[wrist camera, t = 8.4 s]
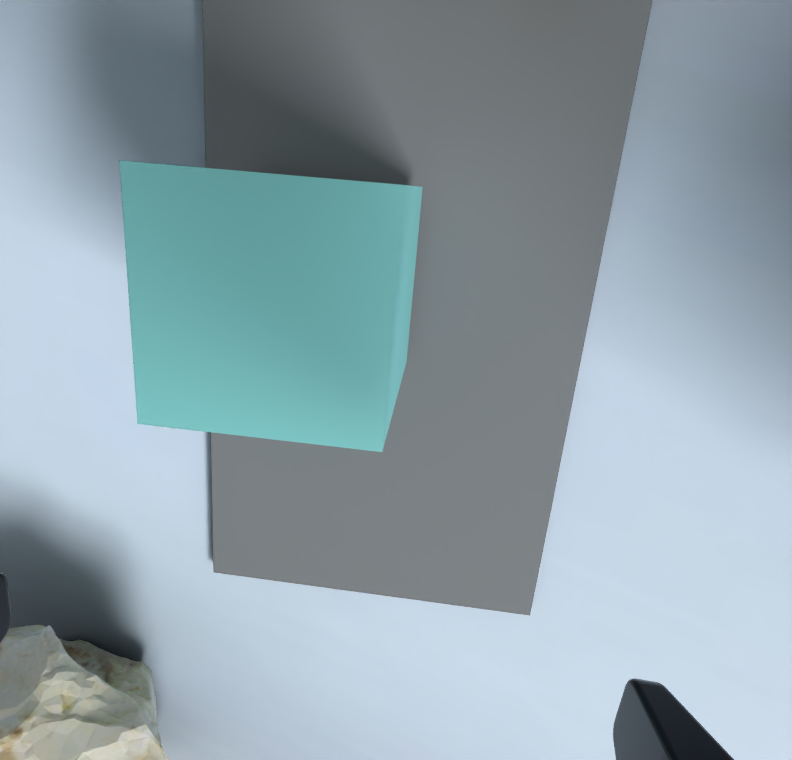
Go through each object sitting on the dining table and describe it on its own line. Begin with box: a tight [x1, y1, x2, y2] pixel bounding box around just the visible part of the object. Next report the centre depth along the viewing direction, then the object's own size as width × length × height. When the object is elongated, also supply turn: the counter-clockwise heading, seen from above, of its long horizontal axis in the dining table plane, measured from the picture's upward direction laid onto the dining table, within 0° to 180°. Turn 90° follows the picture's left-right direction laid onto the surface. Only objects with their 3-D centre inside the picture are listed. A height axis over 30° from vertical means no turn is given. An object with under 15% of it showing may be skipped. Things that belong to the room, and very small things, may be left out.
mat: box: [203, 0, 652, 615], centre depth 18 cm, size 12×25×1 cm, turn 175°
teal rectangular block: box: [119, 160, 423, 452], centre depth 14 cm, size 5×5×7 cm
